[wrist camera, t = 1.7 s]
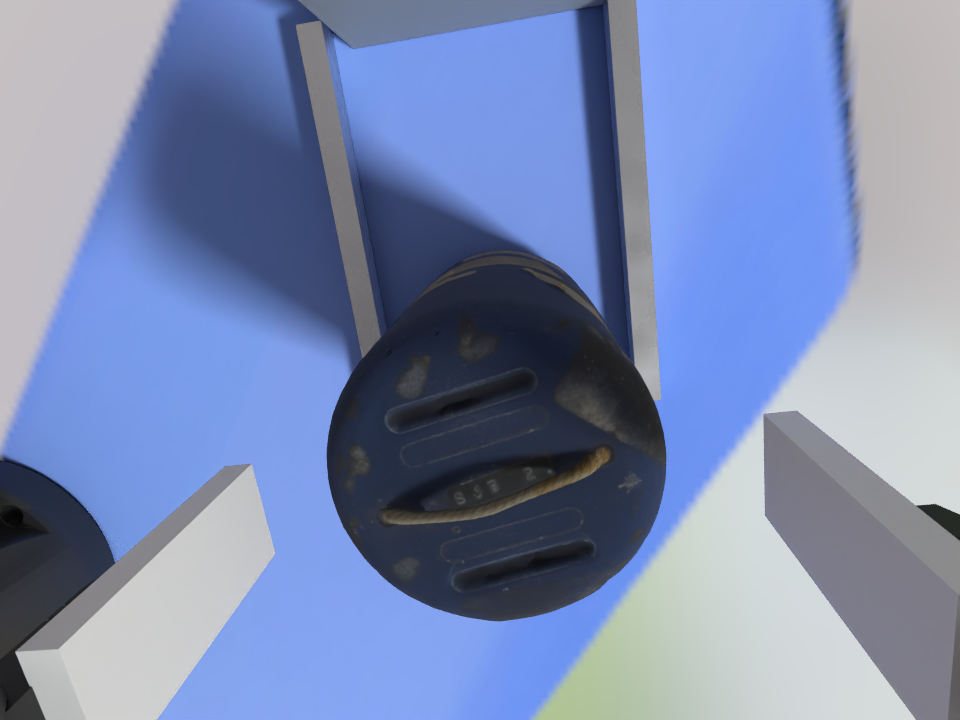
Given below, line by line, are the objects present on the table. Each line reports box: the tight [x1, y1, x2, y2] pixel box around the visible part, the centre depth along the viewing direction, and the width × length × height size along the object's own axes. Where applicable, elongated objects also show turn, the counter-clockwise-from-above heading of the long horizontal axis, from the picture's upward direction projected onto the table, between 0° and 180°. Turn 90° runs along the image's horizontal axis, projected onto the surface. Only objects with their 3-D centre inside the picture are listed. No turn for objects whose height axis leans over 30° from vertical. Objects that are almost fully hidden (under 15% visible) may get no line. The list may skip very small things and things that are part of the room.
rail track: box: [296, 0, 661, 401], centre depth 29 cm, size 15×20×2 cm
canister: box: [327, 250, 666, 621], centre depth 23 cm, size 10×10×18 cm
